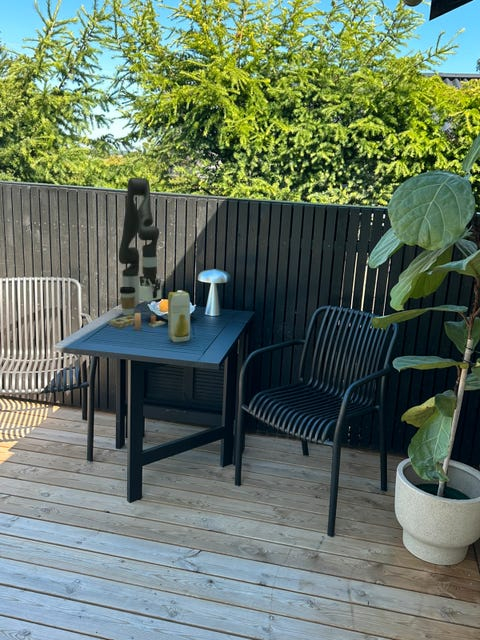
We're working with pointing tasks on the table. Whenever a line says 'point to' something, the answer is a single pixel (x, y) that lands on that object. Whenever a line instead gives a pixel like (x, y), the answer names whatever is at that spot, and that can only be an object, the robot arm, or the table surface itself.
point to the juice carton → (179, 316)
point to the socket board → (123, 321)
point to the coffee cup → (127, 300)
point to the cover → (148, 293)
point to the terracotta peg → (137, 321)
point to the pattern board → (153, 321)
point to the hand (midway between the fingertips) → (150, 296)
